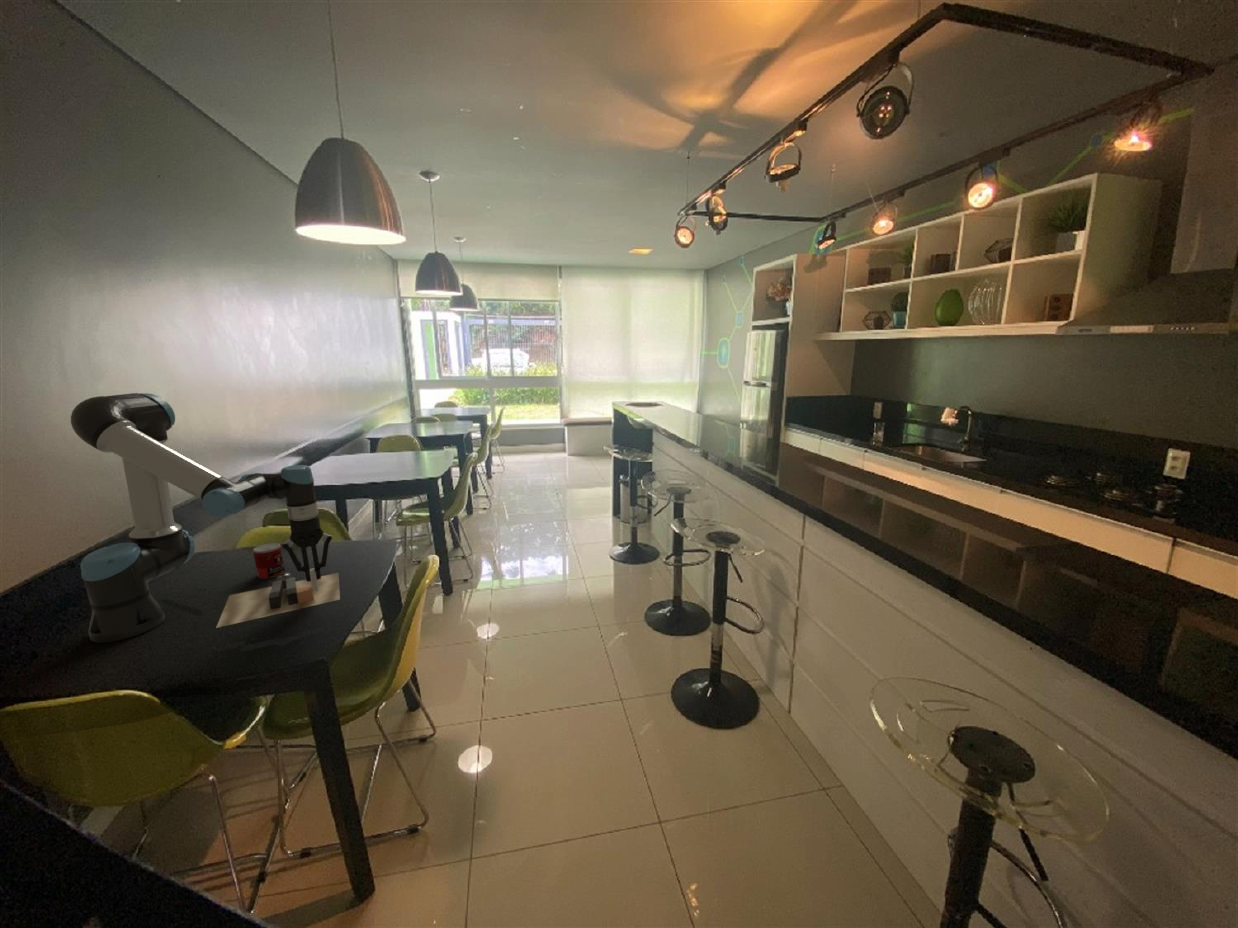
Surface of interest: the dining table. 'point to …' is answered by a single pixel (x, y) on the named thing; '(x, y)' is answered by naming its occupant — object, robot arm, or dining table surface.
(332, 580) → the board
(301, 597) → the orange block
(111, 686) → the dining table surface
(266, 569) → the canned food
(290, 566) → the dining table surface
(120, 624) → the robot arm
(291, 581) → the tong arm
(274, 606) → the tongs fixed
